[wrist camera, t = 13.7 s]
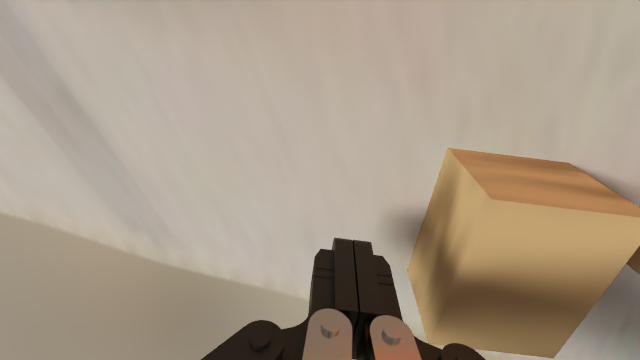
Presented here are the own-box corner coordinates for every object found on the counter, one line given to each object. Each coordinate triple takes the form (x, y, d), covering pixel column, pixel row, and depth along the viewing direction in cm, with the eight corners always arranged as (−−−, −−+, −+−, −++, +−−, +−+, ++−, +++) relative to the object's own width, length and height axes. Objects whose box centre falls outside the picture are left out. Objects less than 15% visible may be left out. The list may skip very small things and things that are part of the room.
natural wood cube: (446, 146, 15) (492, 199, 11) (565, 161, 15) (659, 219, 11) (406, 267, 19) (428, 343, 15) (502, 279, 19) (553, 358, 15)
